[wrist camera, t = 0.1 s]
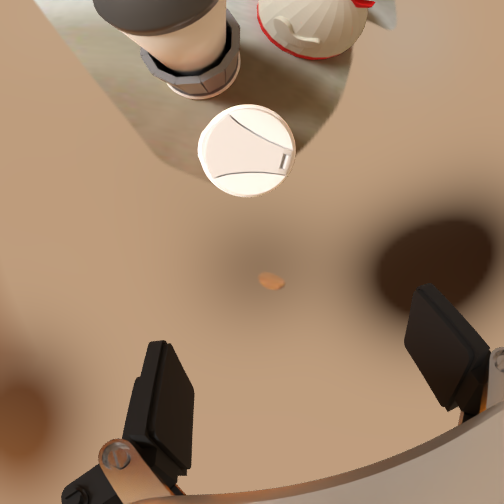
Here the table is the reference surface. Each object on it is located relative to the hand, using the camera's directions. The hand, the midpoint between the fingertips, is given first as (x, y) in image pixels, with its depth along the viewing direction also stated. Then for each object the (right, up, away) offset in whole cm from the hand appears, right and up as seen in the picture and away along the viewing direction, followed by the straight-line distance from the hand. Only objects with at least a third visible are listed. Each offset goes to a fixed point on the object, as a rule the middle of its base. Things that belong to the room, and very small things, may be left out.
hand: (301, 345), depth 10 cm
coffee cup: (-3, +18, +26) cm, 32 cm away
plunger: (-8, +24, +13) cm, 28 cm away
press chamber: (-8, +27, +21) cm, 35 cm away
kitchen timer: (+6, +35, +19) cm, 40 cm away
